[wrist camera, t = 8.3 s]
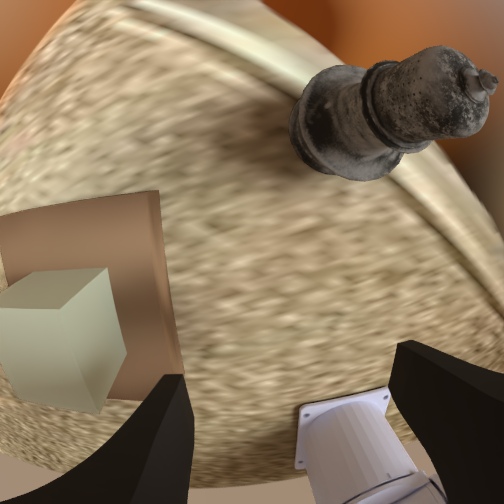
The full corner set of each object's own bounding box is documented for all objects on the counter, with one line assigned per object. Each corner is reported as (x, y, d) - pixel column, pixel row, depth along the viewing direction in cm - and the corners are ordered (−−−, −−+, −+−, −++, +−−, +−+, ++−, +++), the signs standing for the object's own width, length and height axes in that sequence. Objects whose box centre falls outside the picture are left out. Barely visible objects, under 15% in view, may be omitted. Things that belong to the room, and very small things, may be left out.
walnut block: (184, 372, 18) (180, 401, 16) (62, 367, 18) (47, 390, 15) (158, 190, 15) (144, 193, 13) (22, 210, 15) (-5, 217, 12)
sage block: (127, 353, 14) (99, 414, 10) (56, 349, 14) (18, 398, 9) (107, 267, 13) (59, 309, 8) (33, 271, 13) (-21, 306, 8)
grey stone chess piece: (391, 132, 16) (556, 111, 4) (338, 200, 17) (508, 249, 5) (323, 66, 14) (448, -44, 3) (262, 133, 15) (351, 36, 4)
